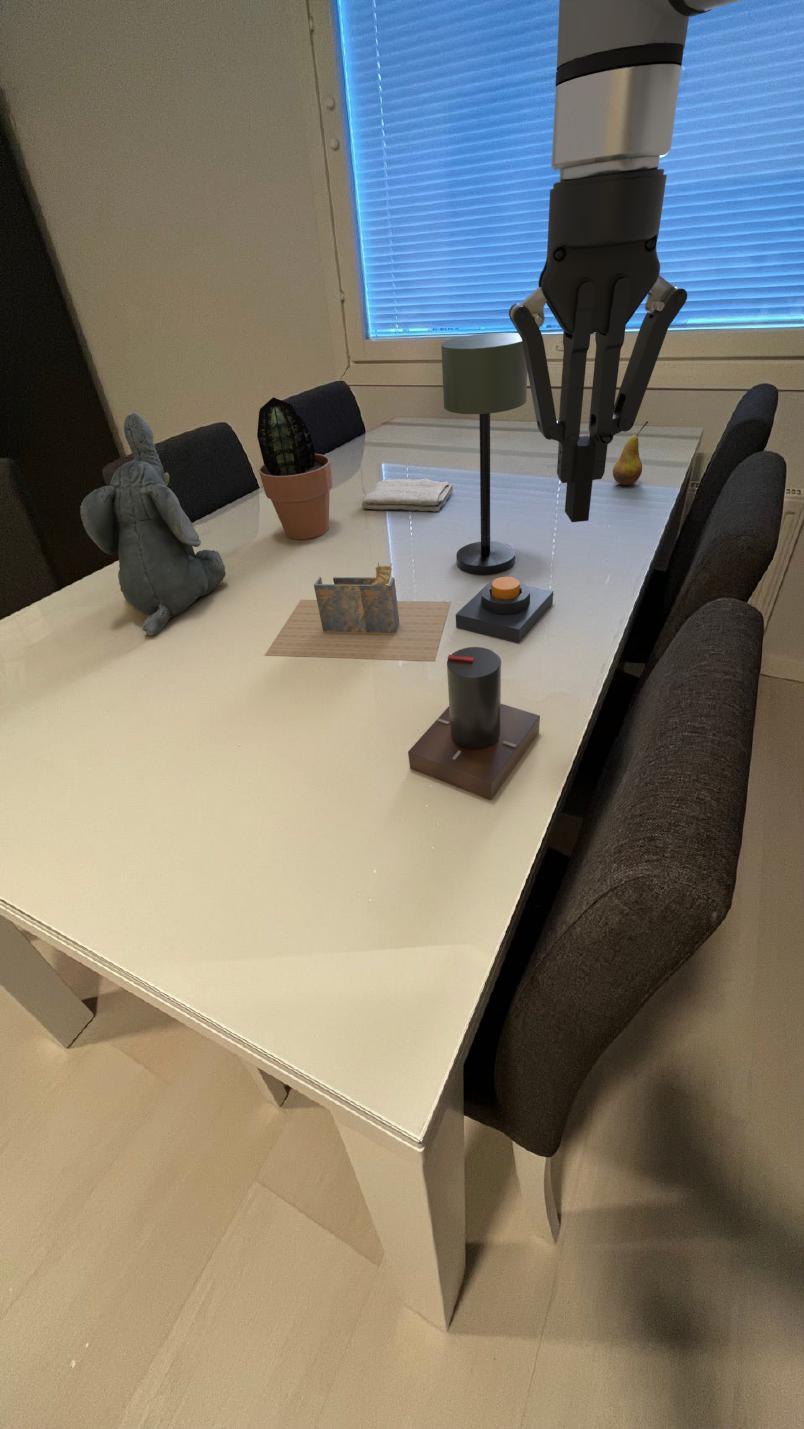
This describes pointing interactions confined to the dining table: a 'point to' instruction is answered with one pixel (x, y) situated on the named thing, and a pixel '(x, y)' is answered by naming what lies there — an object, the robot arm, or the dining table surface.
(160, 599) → the stuffed elephant
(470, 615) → the switch box
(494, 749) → the dimmer panel
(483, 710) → the dimmer knob
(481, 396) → the desk lamp
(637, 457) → the fruit
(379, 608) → the architectural model on board
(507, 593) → the button
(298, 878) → the dining table surface
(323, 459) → the potted plant
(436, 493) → the washcloth
